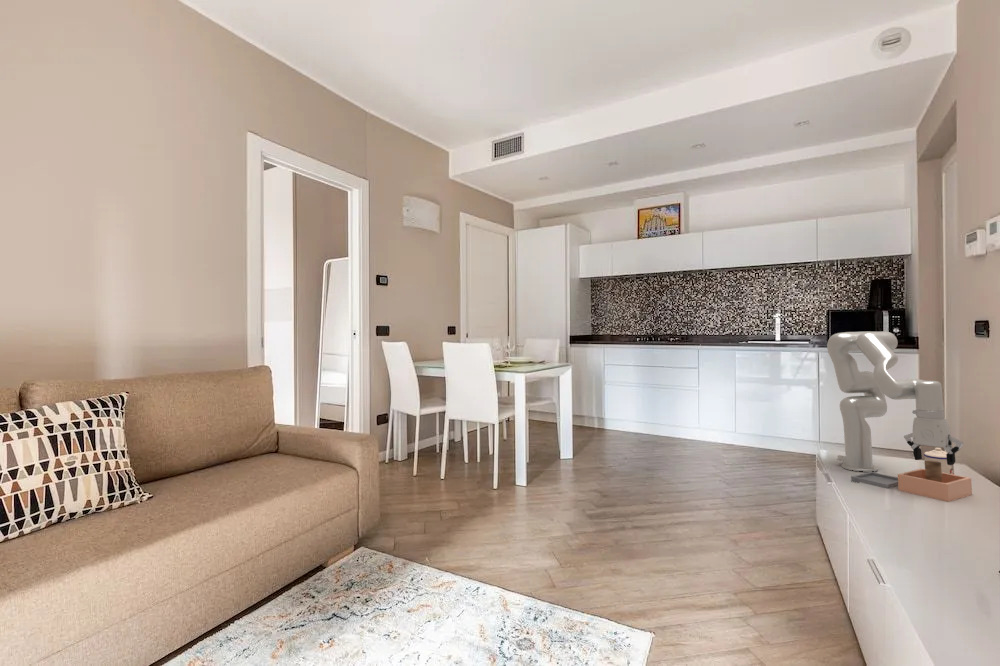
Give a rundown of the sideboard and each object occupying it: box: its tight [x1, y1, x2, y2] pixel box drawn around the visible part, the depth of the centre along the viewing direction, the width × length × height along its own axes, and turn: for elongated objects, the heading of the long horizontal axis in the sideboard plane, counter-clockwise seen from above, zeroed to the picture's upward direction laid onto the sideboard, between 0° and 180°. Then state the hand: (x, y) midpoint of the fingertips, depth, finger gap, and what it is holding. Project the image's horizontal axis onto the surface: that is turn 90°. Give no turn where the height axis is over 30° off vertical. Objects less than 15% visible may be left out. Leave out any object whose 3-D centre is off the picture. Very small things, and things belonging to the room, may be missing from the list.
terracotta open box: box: [897, 468, 973, 503], centre depth 175 cm, size 15×15×6 cm
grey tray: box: [850, 471, 898, 489], centre depth 190 cm, size 13×13×2 cm
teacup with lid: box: [923, 447, 955, 475], centre depth 196 cm, size 12×9×12 cm
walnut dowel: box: [924, 460, 942, 482], centre depth 175 cm, size 4×4×11 cm
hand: (934, 462), depth 174 cm, fingers open, 9 cm apart
